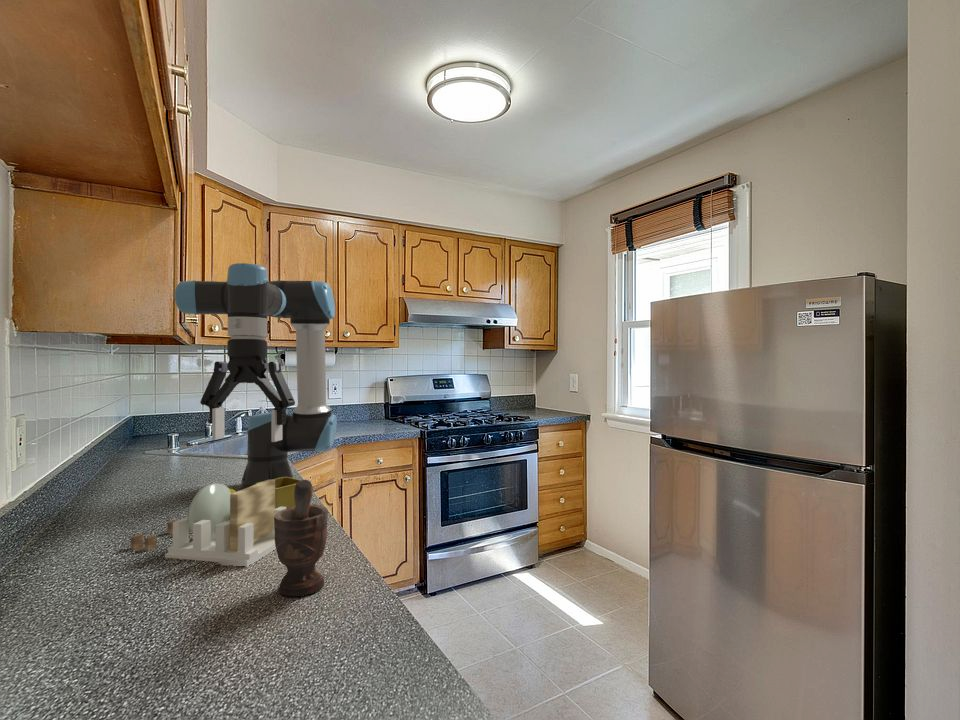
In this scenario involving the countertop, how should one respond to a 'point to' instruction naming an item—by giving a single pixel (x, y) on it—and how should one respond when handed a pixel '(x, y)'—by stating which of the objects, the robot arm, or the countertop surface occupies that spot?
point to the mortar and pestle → (301, 542)
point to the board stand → (149, 539)
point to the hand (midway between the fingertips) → (247, 439)
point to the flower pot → (284, 491)
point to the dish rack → (219, 543)
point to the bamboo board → (252, 510)
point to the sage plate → (210, 506)
